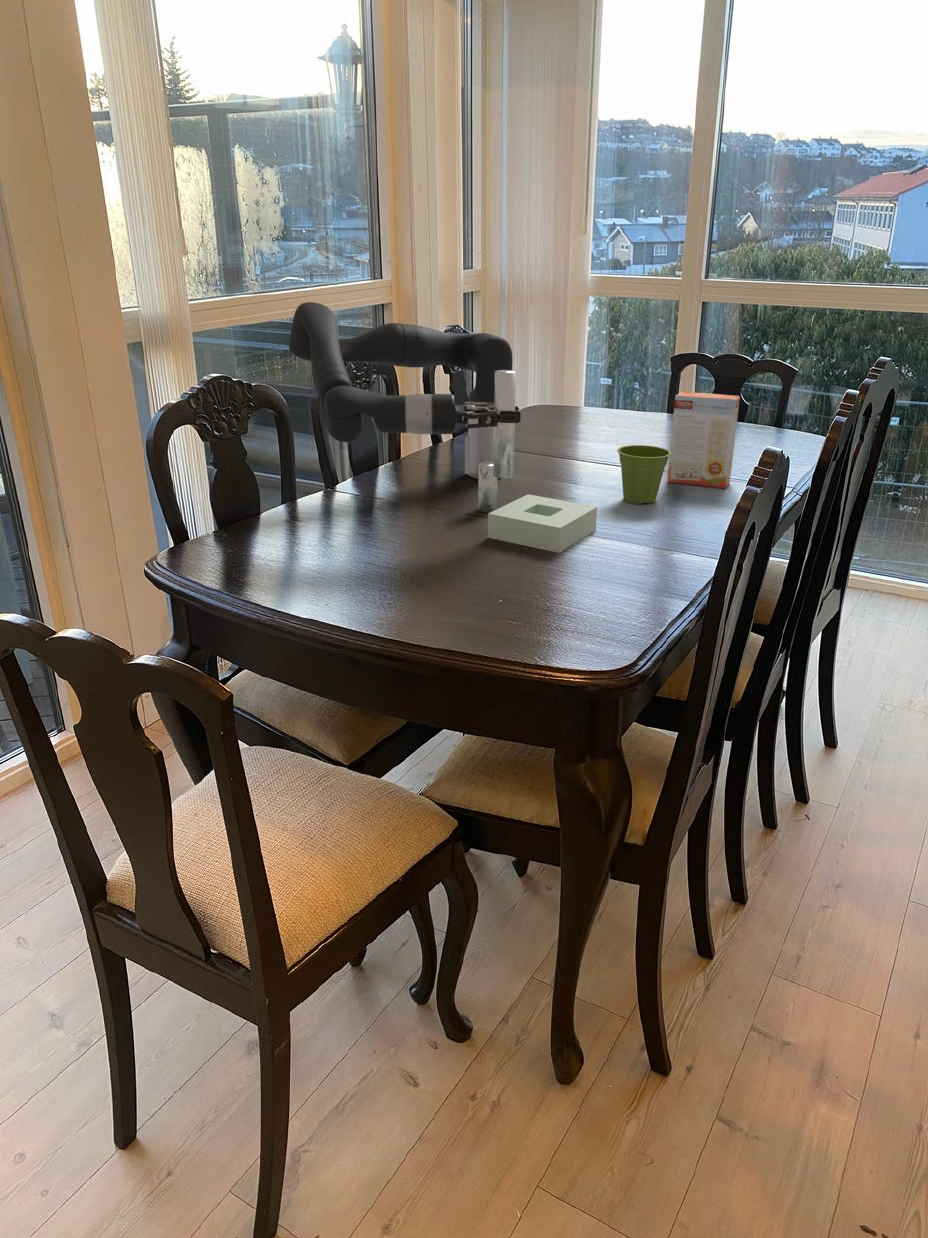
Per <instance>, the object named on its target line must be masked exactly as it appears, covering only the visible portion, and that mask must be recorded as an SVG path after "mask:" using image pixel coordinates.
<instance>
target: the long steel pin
mask: <svg viewBox="0 0 928 1238" xmlns="http://www.w3.org/2000/svg"><path fill="white" fill-rule="evenodd" d="M516 387H517V371H515V370H513V369H512V370H497V371H495V391H494V410H500V411H515V406H516V394H517V393H516V390H517V389H516ZM515 424H516V423H501V422H500V424H498V425H497V426H496V427H494V441H493V476H494V477H497V479H510V478H513V476H514V459H515V456H514V455H515Z"/></svg>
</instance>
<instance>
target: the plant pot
mask: <svg viewBox="0 0 928 1238" xmlns="http://www.w3.org/2000/svg"><path fill="white" fill-rule="evenodd" d="M616 451H617V453H618V455H619V456H618V457H619V463H620V468H621V481H622V496H623V500H625V502H628V503H630V504H631V503H632V504H635V505H642V504H645V503H646V504H649V505H650V504H652V503H654V502H655V503H656V500H657V497H658V495H659V494H658V493H659V490H660V486H661V484H662V483H661V482H662V479H663V475H664V472H665V467H666V465H667V463H668V462H669V457H670V455H671V454H672V453H671V451H670V449H667V448H664V447H660V446H654V445H649V444H647V445H643V444H635V445H634V444H632V445H631V444H629V445H623V446H620V447H617V449H616Z"/></svg>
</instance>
